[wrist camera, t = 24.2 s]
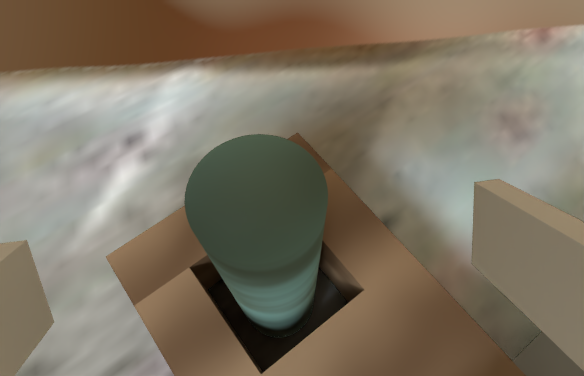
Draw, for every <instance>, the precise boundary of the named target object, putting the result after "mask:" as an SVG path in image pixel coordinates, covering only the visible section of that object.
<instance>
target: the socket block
mask: <svg viewBox="0 0 584 376" xmlns="http://www.w3.org/2000/svg"><path fill="white" fill-rule="evenodd" d="M287 140H290V141H292V142H294V143H296V144H298V145H299V146H301V147H302V148H304V149H305V150H306V151H307V152H309V153H310V154H311V155H312V156H313V158H314V159H315V160H316V161H317V162H318V164H319V166H320V167H321V169H322V171H323V174H324V176H325V179H326V183H327V188H328V205H327V212H326V219H325V226H324V233H323V240H322V247H321V254H320V261H319V267H320V268H321V270H322V271H323V272H324V273H325V274H326V276H327V277H328V278H329V279H330V281H331V282H332V283H333V284H334V285H335V287H336V288H337V289H338V290H339V292H340V293H341V294H342V295H343V296H344V298H345V299H346V300H347V301H348V304H346V305H345V306H344V307H343V308H342V309H340V310H339V311H338V312H337V313H335V314H334V315H333V316H332V317H331V318H329V319H328V320H327V321H326V322H324V323H323V324H322V325H321V326H320V327H318V328H317V329H316V330H315V331H313V332H312V333H311V334H310V335H309V336H307V337H306V338H305V339H304V340H302V341H301V342H300V343H299V344H298V345H296V346H295V347H294V348H293V349H291V350H290V351H289V352H288V353H287V354H285V355H284V356H283V357H282V358H280V359H279V360H278V361H277V362H276V363H274V364H273V365H272V366H271V367H269V368H268V369H267V370H266V371H265V372H263V371H262V370H261V368H260V367H259V365H258V364H257V362H256V361H255V360H254V358H253V357H252V355H251V354H250V352H249V351H248V349H247V348H246V346H245V345H244V343H243V342H242V340H241V339H240V337H239V336H238V334H237V333H236V331H235V330H234V328H233V327H232V325H231V324H230V322H229V321H228V319H227V318H226V316H225V315H224V313H223V312H222V310H221V309H220V307H219V306H218V304H217V303H216V301H215V300H214V298H213V297H212V296H211V294H210V293H209V291H208V290H207V289H209V288H210V287H212V286H213V285H214V284H216V283H217V282H219V281H220V280H221V279H222V277H221V276H220V274H219V272H218V271H217V269H216V268H215V266H214V264H213V263H212V261H211V260H210V258H209V256H208V255H207V253H206V252H205V250H204V248H203V247H202V245H201V244H200V242H199V241H198V239H197V237H196V236H195V234H194V232H193V231H192V229H191V227H190V225H189V222H188V220H187V216H186V212H185V206H183V207H182V208H180V209H179V210H177V211H176V212H174V213H172V214H171V215H169V216H168V217H166V218H165V219H163V220H162V221H160V222H159V223H157V224H155V225H154V226H152V227H151V228H149V229H148V230H146V231H145V232H143V233H142V234H140V235H138V236H137V237H135V238H134V239H132V240H131V241H129V242H128V243H126V244H125V245H123V246H121V247H120V248H118V249H117V250H115V251H114V252H112V253H111V254H109V255H108V256H106V258H107V260H108V262H109V263H110V265H111V267H112V269H113V270H114V272H115V274H116V276H117V277H118V279H119V281H120V282H121V284H122V286H123V288H124V289H125V291H126V293H127V294H128V296H129V298H130V300H131V301H132V303H133V305H134V307H135V308H136V310H137V312H138V314H139V315H140V317H141V319H142V320H143V322H144V324H145V326H146V327H147V329H148V331H149V332H150V334H151V336H152V338H153V339H154V341H155V343H156V345H157V346H158V348H159V350H160V351H161V353H162V355H163V357H164V358H165V360H166V362H167V364H168V365H169V367H170V369H171V370H172V372H173V374H174V376H526V375H525V374H524V373H523V372H522V371H521V370H520V369H519V368H518V367H517V366H516V364H515V363H514V362H513V361H512V360H511V359H510V358H509V357H508V356H507V355H506V354H505V353H504V352H503V351H502V350H501V348H500V347H499V346H498V345H497V344H496V343H495V342H494V341H493V340H492V339H491V338H490V337H489V336H488V335H487V334H486V332H485V331H484V330H483V329H482V328H481V327H480V326H479V325H478V324H477V323H476V322H475V321H474V320H473V319H472V318H471V317H470V315H469V314H468V313H467V312H466V311H465V310H464V309H463V308H462V307H461V306H460V305H459V304H458V303H457V302H456V301H455V299H454V298H453V297H452V296H451V295H450V294H449V293H448V292H447V291H446V290H445V289H444V288H443V287H442V286H441V285H440V283H439V282H438V281H437V280H436V279H435V278H434V277H433V276H432V275H431V274H430V273H429V272H428V271H427V270H426V269H425V268H424V266H423V265H422V264H421V263H420V262H419V261H418V260H417V259H416V258H415V257H414V256H413V255H412V254H411V253H410V252H409V250H408V249H407V248H406V247H405V246H404V245H403V244H402V243H401V242H400V241H399V240H398V239H397V238H396V237H395V236H394V235H393V233H392V232H391V231H390V230H389V229H388V228H387V227H386V226H385V225H384V224H383V223H382V222H381V221H380V220H379V219H378V217H377V216H376V215H375V214H374V213H373V212H372V211H371V210H370V209H369V208H368V207H367V206H366V205H365V204H364V203H363V201H362V200H361V199H360V198H359V197H358V196H357V195H356V194H355V193H354V192H353V191H352V190H351V189H350V188H349V187H348V186H347V184H346V183H345V182H344V181H343V180H342V179H341V178H340V177H339V176H338V175H337V174H336V173H335V172H334V171H333V170H332V168H331V167H330V166H329V165H328V164H327V163H326V162H325V161H324V160H323V159H322V158H321V157H320V156H319V155H318V154H317V152H316V151H315V150H314V149H313V148H312V147H311V146H310V145H309V144H308V143H307V142H306V141H305V140H304V139H303V138H302V137H301V135H300V134H299V133H296V134H295V135H293V136H291V137H290V138H288V139H287Z"/></svg>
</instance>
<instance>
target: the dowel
mask: <svg viewBox="0 0 584 376" xmlns="http://www.w3.org/2000/svg"><path fill="white" fill-rule="evenodd" d="M327 205H328V188H327V183H326V179H325V176H324V174H323V171H322V169H321V167H320V166H319V164H318V162H317V161H316V160H315V159H314V158H313V156H312V155H311V154H310V153H309V152H307V151H306V150H305V149H304V148H302V147H301V146H299V145H298V144H296V143H294V142H292V141H290V140H287V139H285V138H281V137H278V136H273V135H263V134H256V135H247V136H241V137H238V138H234V139H232V140H229V141H227V142H224V143H223V144H221V145H219V146H217V147H216V148H214V149H213V150H212V151H210V152H209V153H208V154H207V155H206V156H205V157H204V158H203V159H202V160H201V161H200V162H199V163H198V165H197V166H196V168H195V169H194V170H193V172H192V174H191V176H190V178H189V181H188V184H187V187H186V192H185V212H186V216H187V220H188V222H189V225H190V227H191V229H192V231H193V232H194V234H195V236H196V237H197V239H198V241H199V242H200V244H201V245H202V247H203V248H204V250H205V252H206V253H207V255H208V256H209V258H210V260H211V261H212V263H213V264H214V266H215V268H216V269H217V271H218V272H219V274H220V276H221V277H222V279H223V280H224V282H225V283H226V285H227V287H228V288H229V290H230V291H231V293H232V295H233V296H234V298H235V299H236V301H237V303H238V304H239V306H240V307H241V309H242V311H243V312H244V314H245V315H246V317H247V319H248V320H249V322H250V323H251V324H252V326H253V327H254V328H255V329H256V330H258V331H259V332H260V333H262V334H264V335H267V336H270V337H286V336H289V335H292V334H294V333H296V332H297V331H299V330H300V329H301V328H302V327H303V326H304V325H305V324H306V323H307V321H308V320H309V318H310V315H311V313H312V309H313V302H314V295H315V288H316V281H317V274H318V267H319V261H320V254H321V247H322V240H323V233H324V226H325V219H326V212H327Z"/></svg>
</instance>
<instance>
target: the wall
mask: <svg viewBox="0 0 584 376" xmlns="http://www.w3.org/2000/svg"><path fill="white" fill-rule="evenodd" d="M513 362H514V363H515V364H516V366H517V367H518V368H519V369H520V370H521V371H522V372H523V373H524V374H525V375H526V376H584V371H583V370H582V369H581V368H580V367H579V366H578V365H577V364H576V363H575V362H574V361H573V360H572V359H570V358H569V357H568V356H567V355H566V354H565V353H564V352H563V351H562V350H561V349H560V348H559V347H558V346H557V345H556V344H555V343H554V342H553V341H552V340H551V339H550V338H549V337H548V336H546V335H545V334H544V333H543V332H541V333H540V334H539V335H538V336H537V337H536V338H535V339H534V340H533V341H532V342H531V343H530V344H529V345H528V346H527V347H526V348H525V349H524V350H523V351H522V352H521V353H520V354H519V355H518V356H517V357H516V358H515V359H514V360H513Z"/></svg>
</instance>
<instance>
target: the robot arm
mask: <svg viewBox="0 0 584 376" xmlns="http://www.w3.org/2000/svg"><path fill="white" fill-rule="evenodd" d="M472 265H473V266H474V267H476V268H477V269H478V270H479V271H480V272H481V273H482V274H483V275H484V276H485V277H486V278H487V279H488V280H489V281H490V282H491V283H492V284H493V285H494V286H495V287H496V288H497V289H498V290H500V291H501V292H502V293H503V294H504V295H505V296H506V297H507V298H508V299H509V300H510V301H511V302H512V303H513V304H514V305H515V306H516V307H517V308H518V309H519V310H520V311H521V312H522V313H524V314H525V315H526V316H527V317H528V318H529V319H530V320H531V321H532V322H533V323H534V324H535V325H536V326H537V327H538V328H539V329H540V330H541V331H542V332H543V333H544V334H545V335H546V336H548V337H549V338H550V339H551V340H552V341H553V342H554V343H555V344H556V345H557V346H558V347H559V348H560V349H561V350H562V351H563V352H564V353H565V354H566V355H567V356H568V357H569V358H570V359H572V360H573V361H574V362H575V363H576V364H577V365H578V366H579V367H580V368H581V369H582V370H583V371H584V222H583V221H581V220H579V219H577V218H575V217H573V216H571V215H569V214H567V213H565V212H563V211H561V210H559V209H557V208H555V207H553V206H551V205H549V204H547V203H545V202H544V201H542V200H540V199H538V198H536V197H534V196H532V195H530V194H528V193H526V192H524V191H522V190H520V189H518V188H516V187H514V186H512V185H510V184H508V183H506V182H504V181H502V180H500V179H496V180H488V181H480V182H474V210H473V239H472ZM53 323H54V320H53V317H52V314H51V311H50V308H49V305H48V302H47V299H46V296H45V293H44V290H43V287H42V284H41V281H40V278H39V275H38V272H37V269H36V266H35V263H34V260H33V257H32V254H31V251H30V248H29V245H28V242H27V240H24V241H17V242H9V243H1V244H0V376H14V375H15V374H16V373H17V371H18V370H19V369H20V367H21V366H22V365H23V363H24V362H25V361H26V359H27V358H28V357H29V355H30V354H31V353H32V351H33V350H34V349H35V347H36V346H37V345H38V343H39V342H40V341H41V339H42V338H43V337H44V335H45V334H46V333H47V331H48V330H49V328H50V327H51V326H52V324H53Z"/></svg>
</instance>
